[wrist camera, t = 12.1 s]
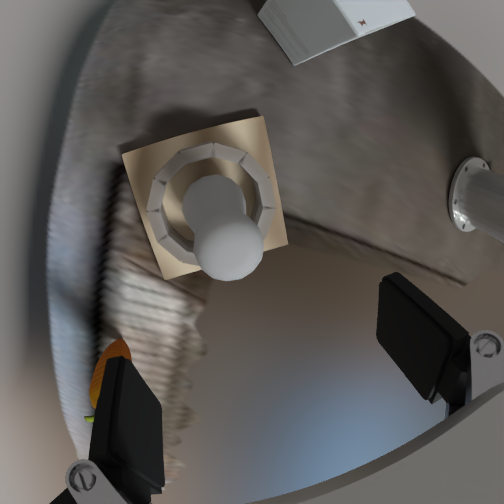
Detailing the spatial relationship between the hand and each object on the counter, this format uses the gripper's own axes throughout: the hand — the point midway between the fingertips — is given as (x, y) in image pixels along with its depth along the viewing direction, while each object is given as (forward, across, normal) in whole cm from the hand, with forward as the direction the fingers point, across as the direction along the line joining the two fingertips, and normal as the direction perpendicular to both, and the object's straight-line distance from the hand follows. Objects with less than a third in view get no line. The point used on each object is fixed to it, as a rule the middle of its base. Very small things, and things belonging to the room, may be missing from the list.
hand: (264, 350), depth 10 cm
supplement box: (+22, -13, -16) cm, 31 cm away
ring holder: (+22, 0, 0) cm, 22 cm away
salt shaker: (+21, 0, 0) cm, 21 cm away
